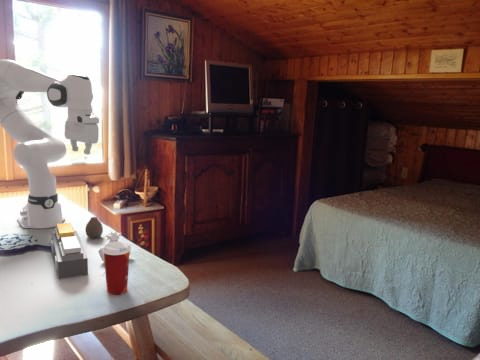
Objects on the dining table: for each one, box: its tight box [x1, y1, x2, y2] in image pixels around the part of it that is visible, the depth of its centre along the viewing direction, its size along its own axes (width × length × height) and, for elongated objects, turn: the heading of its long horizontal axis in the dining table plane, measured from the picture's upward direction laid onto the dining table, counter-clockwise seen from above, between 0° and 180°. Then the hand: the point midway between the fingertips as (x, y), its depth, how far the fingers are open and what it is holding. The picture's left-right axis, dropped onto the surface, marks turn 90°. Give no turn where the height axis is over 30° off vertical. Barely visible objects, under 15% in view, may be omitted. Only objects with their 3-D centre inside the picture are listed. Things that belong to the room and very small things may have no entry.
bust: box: [98, 230, 132, 263], centre depth 150 cm, size 12×8×11 cm
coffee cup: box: [103, 241, 132, 296], centre depth 125 cm, size 8×8×15 cm
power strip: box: [50, 225, 89, 280], centre depth 146 cm, size 30×9×8 cm, turn 29°
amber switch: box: [56, 222, 75, 238], centre depth 152 cm, size 12×5×2 cm, turn 29°
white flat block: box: [61, 236, 81, 254], centre depth 138 cm, size 12×5×2 cm, turn 29°
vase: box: [85, 216, 104, 240], centre depth 170 cm, size 7×7×9 cm
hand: (81, 152), depth 158 cm, fingers open, 8 cm apart
